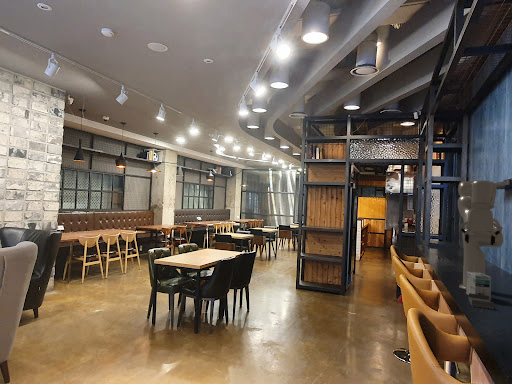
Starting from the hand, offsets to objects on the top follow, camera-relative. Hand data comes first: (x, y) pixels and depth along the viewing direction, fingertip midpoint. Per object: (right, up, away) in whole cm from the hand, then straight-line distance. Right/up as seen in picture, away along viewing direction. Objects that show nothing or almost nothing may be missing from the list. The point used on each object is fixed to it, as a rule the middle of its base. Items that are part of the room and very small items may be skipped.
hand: (479, 244), depth 163 cm
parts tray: (-8, -24, -13) cm, 28 cm away
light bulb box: (-1, -25, -1) cm, 25 cm away
